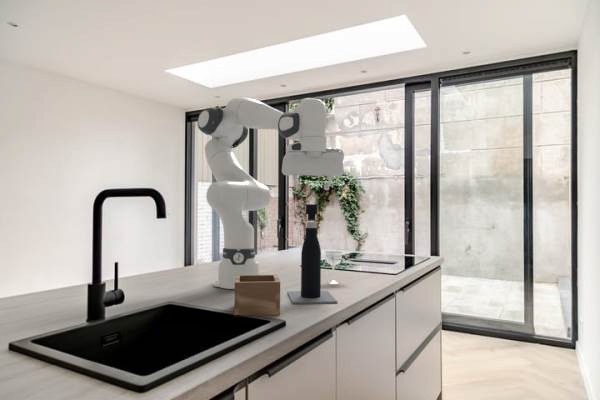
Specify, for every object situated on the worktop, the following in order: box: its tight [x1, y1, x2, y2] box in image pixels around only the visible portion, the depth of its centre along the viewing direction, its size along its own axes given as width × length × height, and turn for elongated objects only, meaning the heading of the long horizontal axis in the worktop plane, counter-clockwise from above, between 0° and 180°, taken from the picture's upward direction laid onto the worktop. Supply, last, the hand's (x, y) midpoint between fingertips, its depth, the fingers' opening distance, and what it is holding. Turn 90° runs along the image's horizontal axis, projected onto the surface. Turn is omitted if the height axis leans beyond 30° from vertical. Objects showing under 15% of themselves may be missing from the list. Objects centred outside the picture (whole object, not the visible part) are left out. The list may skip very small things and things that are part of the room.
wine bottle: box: [300, 203, 322, 298], centre depth 135 cm, size 6×6×30 cm
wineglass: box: [324, 250, 343, 284], centre depth 163 cm, size 7×7×12 cm
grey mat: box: [287, 290, 338, 305], centre depth 135 cm, size 16×14×1 cm
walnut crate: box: [233, 274, 281, 317], centre depth 119 cm, size 12×12×9 cm
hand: (312, 189), depth 135 cm, fingers open, 8 cm apart
